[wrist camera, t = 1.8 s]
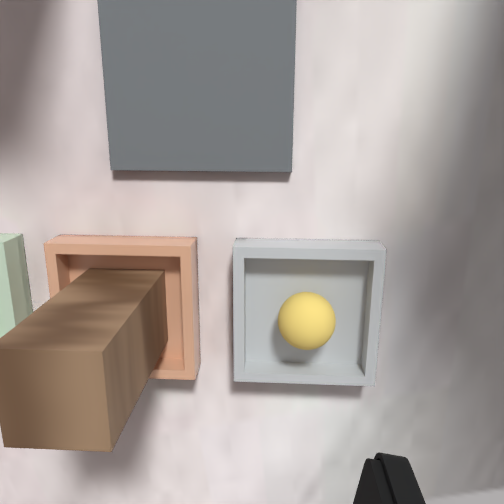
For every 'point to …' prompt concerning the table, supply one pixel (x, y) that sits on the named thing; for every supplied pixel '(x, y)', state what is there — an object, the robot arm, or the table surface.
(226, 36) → the rubber mat
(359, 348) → the grey tub
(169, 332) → the terracotta tub
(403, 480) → the robot arm
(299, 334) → the mustard ball
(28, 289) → the sage tub
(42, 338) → the walnut block
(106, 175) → the table surface
